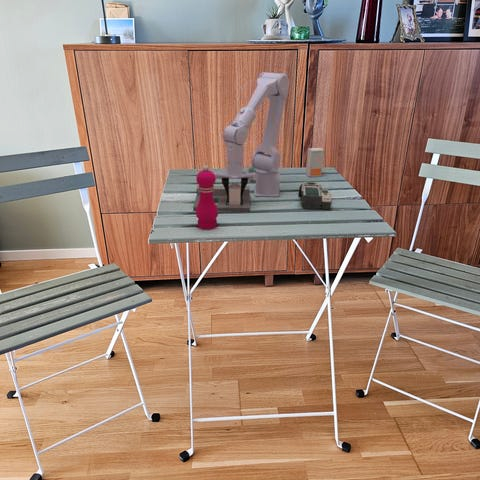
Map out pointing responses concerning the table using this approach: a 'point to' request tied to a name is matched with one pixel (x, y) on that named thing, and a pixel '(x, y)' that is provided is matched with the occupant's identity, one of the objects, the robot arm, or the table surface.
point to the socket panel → (227, 200)
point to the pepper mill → (206, 200)
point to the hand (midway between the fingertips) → (234, 197)
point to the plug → (234, 194)
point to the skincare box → (314, 162)
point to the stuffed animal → (252, 171)
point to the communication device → (314, 196)
